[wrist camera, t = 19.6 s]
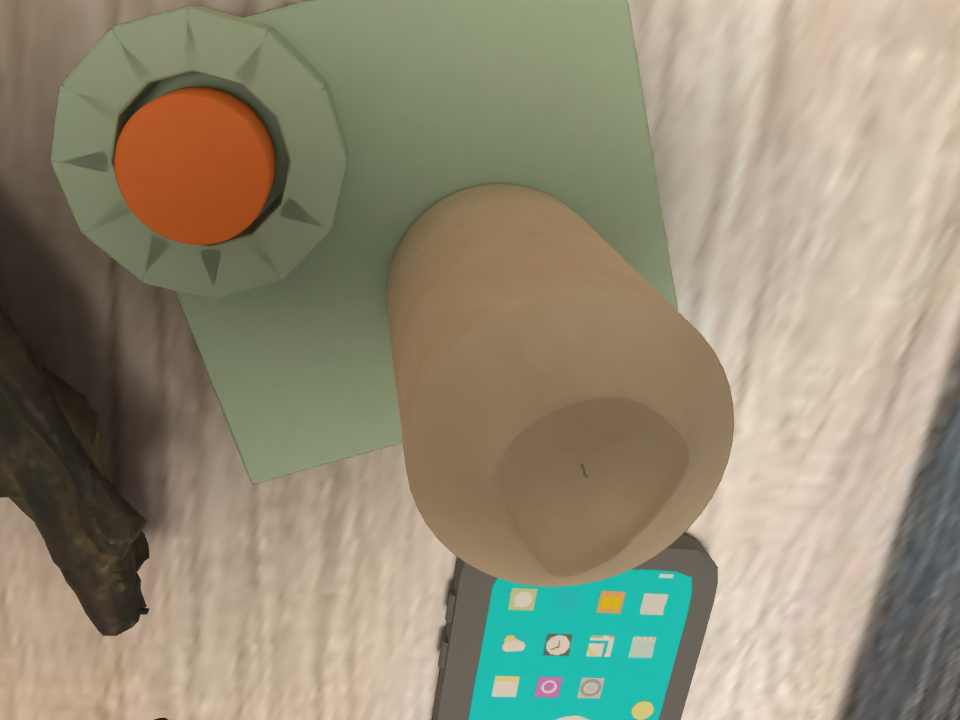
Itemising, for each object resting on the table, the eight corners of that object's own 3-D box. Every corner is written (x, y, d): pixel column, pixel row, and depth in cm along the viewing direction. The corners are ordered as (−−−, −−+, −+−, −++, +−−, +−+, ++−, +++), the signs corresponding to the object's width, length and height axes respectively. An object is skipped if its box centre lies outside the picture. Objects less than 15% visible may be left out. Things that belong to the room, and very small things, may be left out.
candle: (543, 419, 24) (664, 679, 15) (350, 347, 23) (353, 587, 14) (640, 233, 23) (840, 398, 13) (439, 142, 21) (511, 259, 12)
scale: (225, 461, 26) (207, 529, 22) (55, 44, 21) (2, 54, 18) (664, 338, 26) (709, 387, 23) (590, -96, 21) (633, -111, 18)
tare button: (162, 243, 20) (148, 262, 19) (108, 107, 19) (88, 116, 17) (294, 207, 20) (290, 224, 19) (248, 69, 19) (241, 76, 17)
